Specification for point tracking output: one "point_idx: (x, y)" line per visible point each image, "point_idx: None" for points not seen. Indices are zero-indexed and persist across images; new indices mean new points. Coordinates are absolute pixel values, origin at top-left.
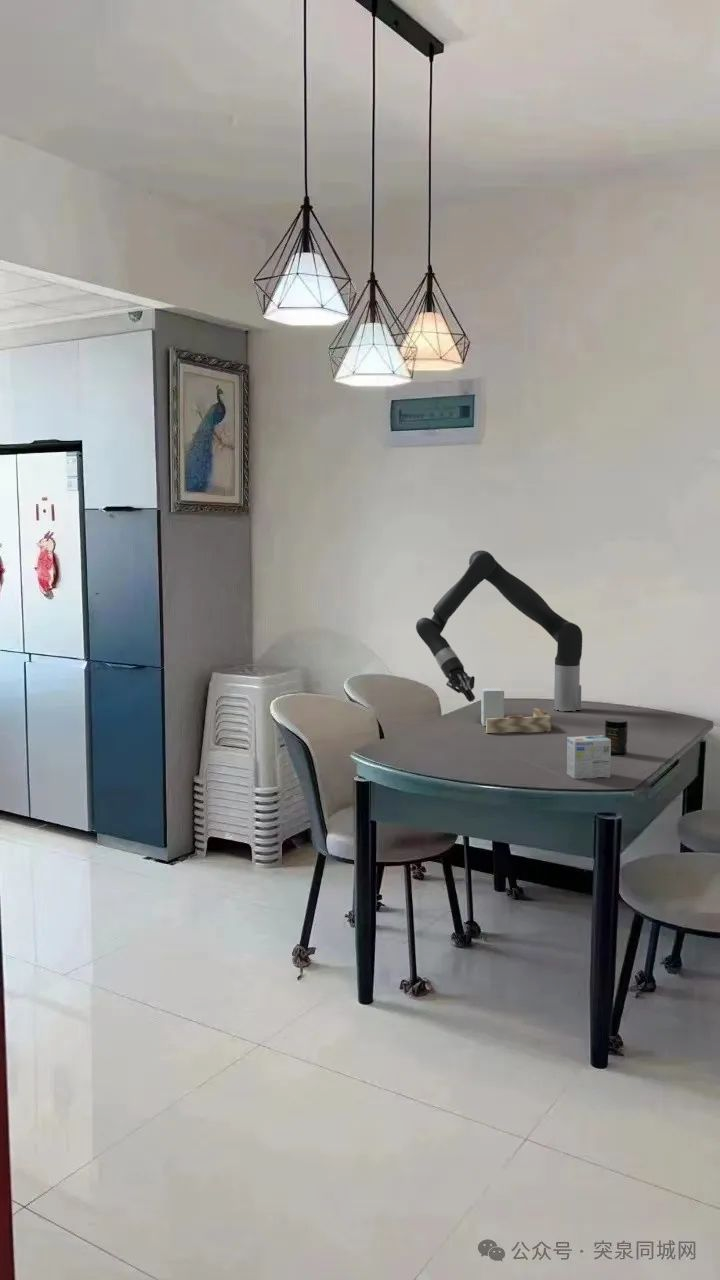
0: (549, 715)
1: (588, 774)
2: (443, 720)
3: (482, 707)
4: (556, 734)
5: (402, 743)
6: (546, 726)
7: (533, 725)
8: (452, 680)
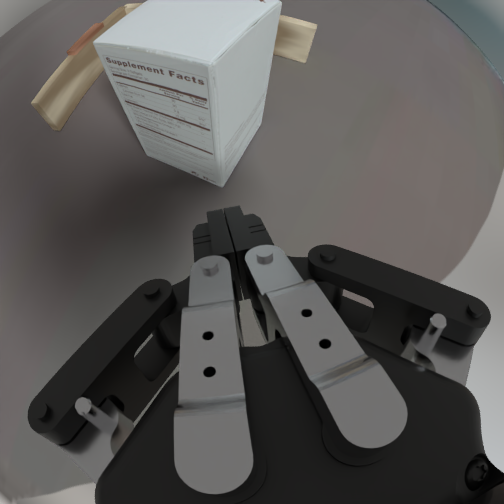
0: (110, 15)
1: None
2: None
3: (256, 92)
4: None
5: (491, 119)
6: None
7: None
8: (456, 317)
